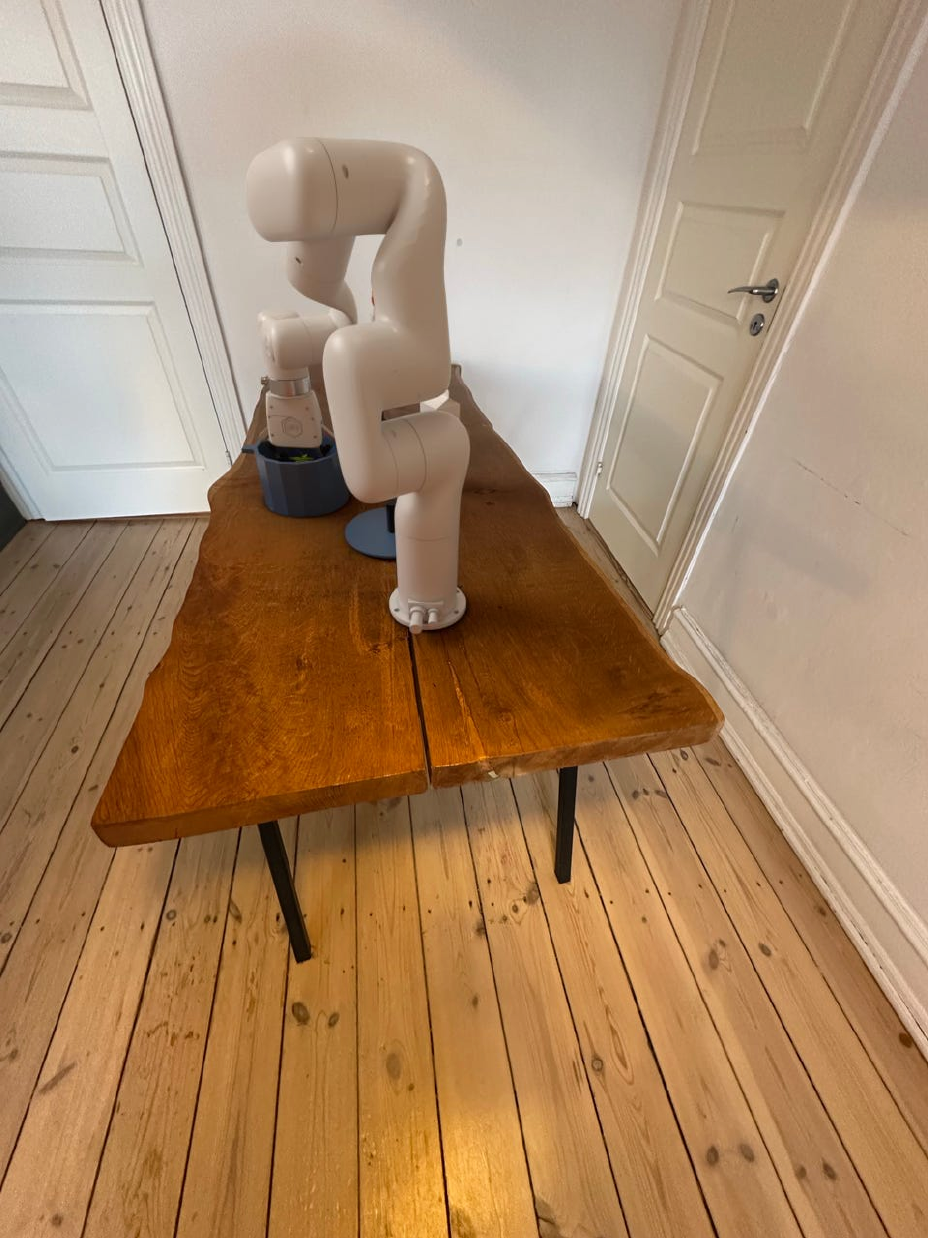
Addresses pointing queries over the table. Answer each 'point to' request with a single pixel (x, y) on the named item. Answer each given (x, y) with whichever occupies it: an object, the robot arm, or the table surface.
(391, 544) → the lid
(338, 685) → the table surface
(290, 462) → the pot
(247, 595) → the table surface
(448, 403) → the milk
